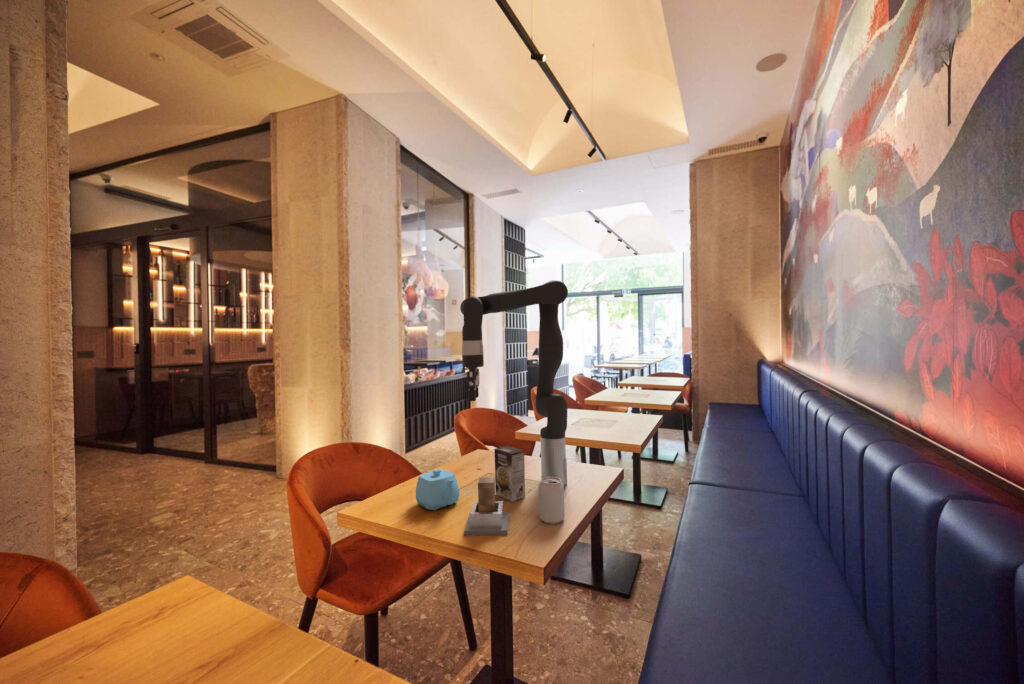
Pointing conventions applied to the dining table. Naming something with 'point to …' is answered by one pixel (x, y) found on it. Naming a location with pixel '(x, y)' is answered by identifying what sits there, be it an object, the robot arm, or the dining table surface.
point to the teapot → (437, 489)
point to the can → (551, 500)
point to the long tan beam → (486, 494)
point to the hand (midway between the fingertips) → (474, 399)
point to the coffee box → (509, 473)
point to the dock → (487, 521)
